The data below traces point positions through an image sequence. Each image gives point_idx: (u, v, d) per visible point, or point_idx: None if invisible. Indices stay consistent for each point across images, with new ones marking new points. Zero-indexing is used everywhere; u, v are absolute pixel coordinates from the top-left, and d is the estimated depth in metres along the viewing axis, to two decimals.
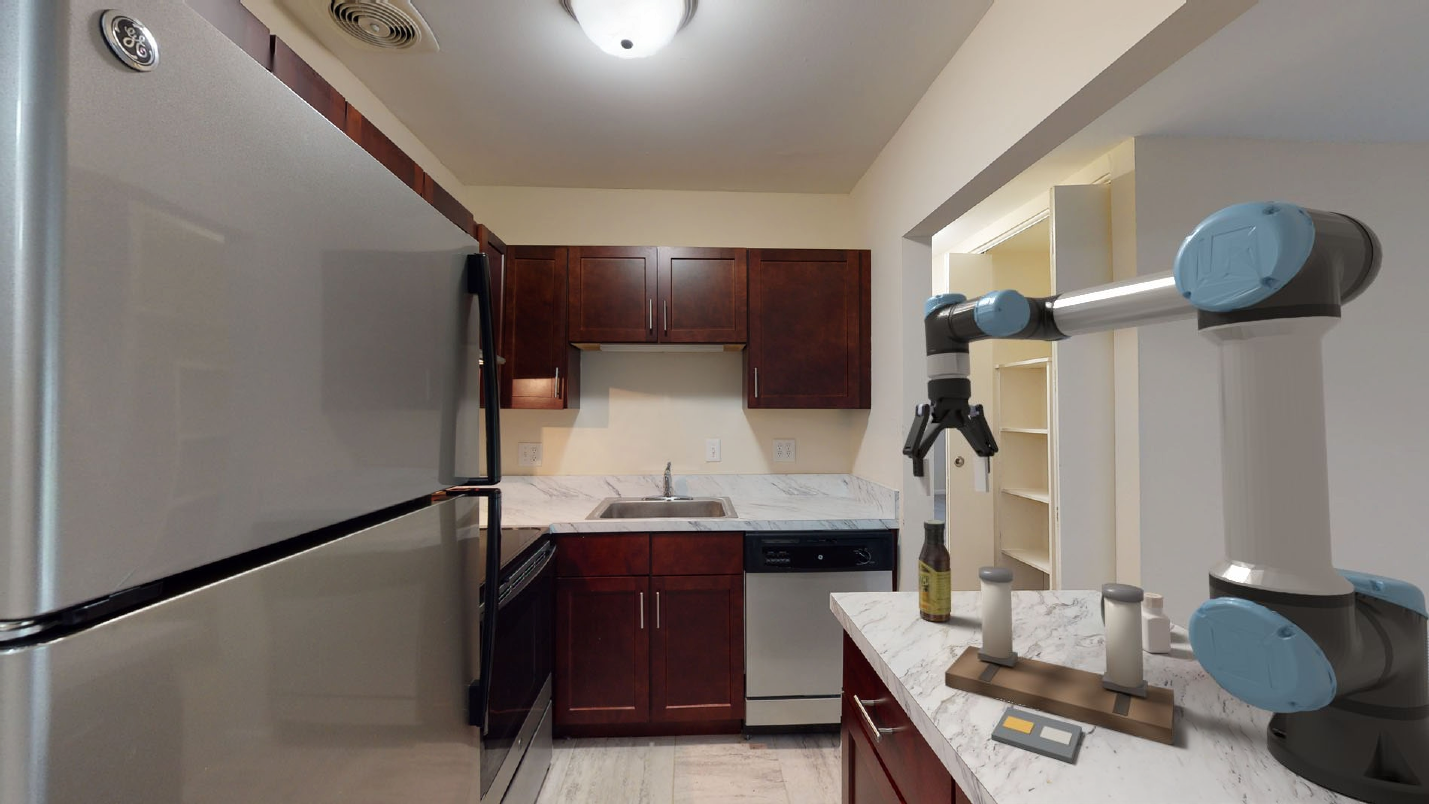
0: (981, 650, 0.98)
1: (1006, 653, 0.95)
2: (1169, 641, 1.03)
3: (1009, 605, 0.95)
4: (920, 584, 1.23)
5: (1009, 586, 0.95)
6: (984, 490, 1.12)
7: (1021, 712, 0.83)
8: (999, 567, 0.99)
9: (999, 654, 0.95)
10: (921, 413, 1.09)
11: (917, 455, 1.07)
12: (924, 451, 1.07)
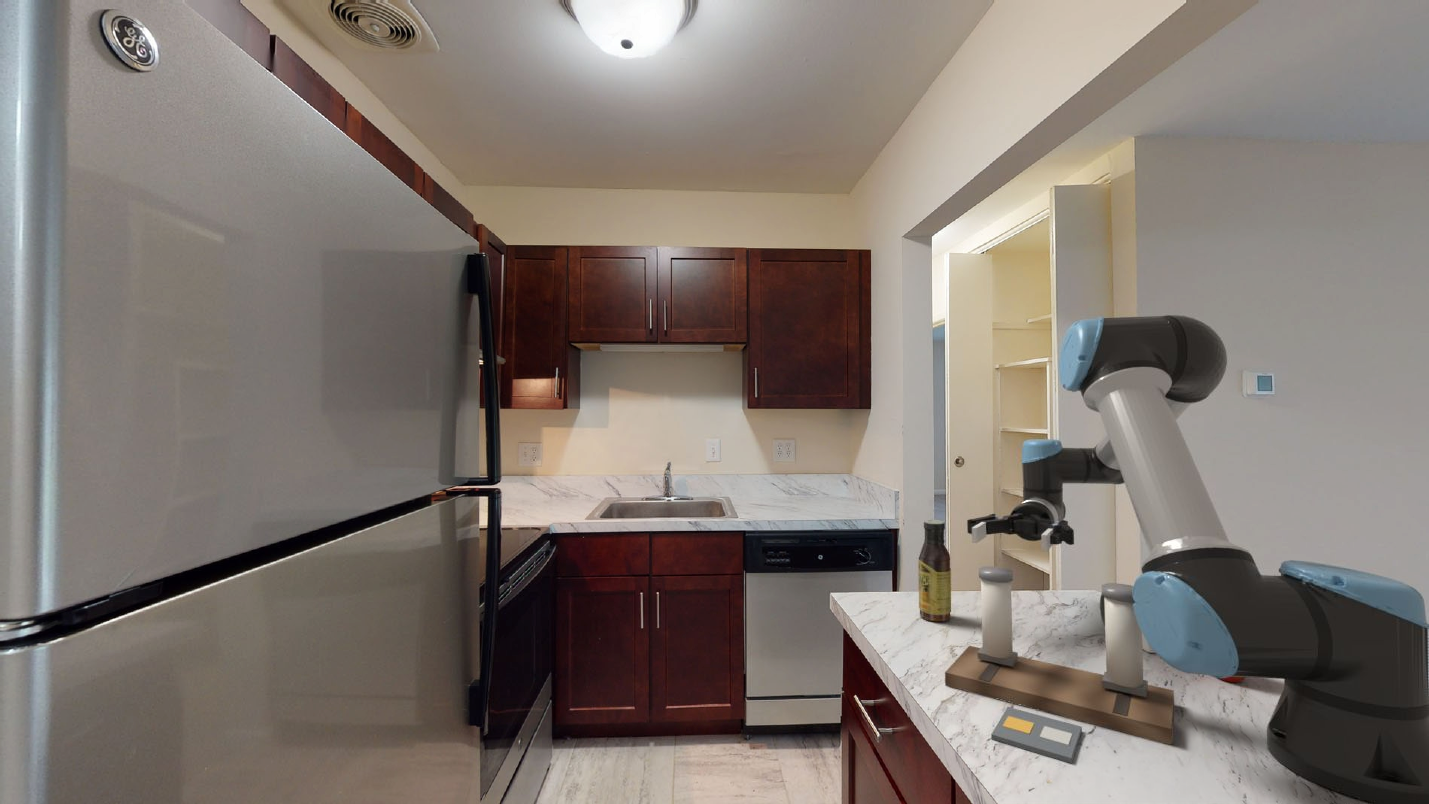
0: (981, 650, 0.98)
1: (1006, 653, 0.95)
2: None
3: (1009, 605, 0.95)
4: (920, 584, 1.23)
5: (1009, 586, 0.95)
6: None
7: (1021, 712, 0.83)
8: (999, 567, 0.99)
9: (999, 654, 0.95)
10: None
11: (975, 523, 1.14)
12: (982, 521, 1.14)
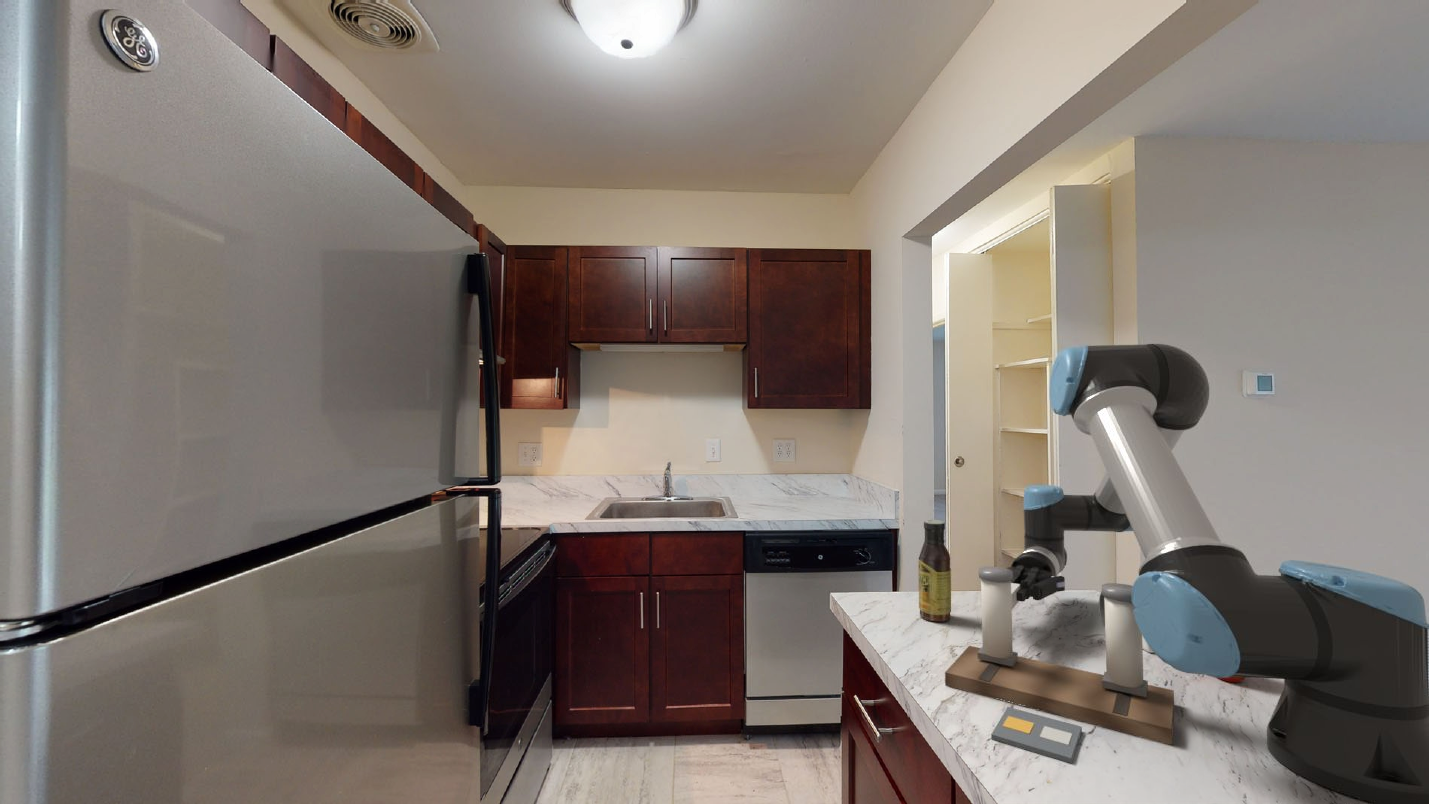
0: (981, 650, 0.98)
1: (1006, 653, 0.95)
2: None
3: (1009, 605, 0.95)
4: (920, 584, 1.23)
5: (1009, 586, 0.95)
6: None
7: (1021, 712, 0.83)
8: (999, 567, 0.99)
9: (999, 654, 0.95)
10: None
11: None
12: None
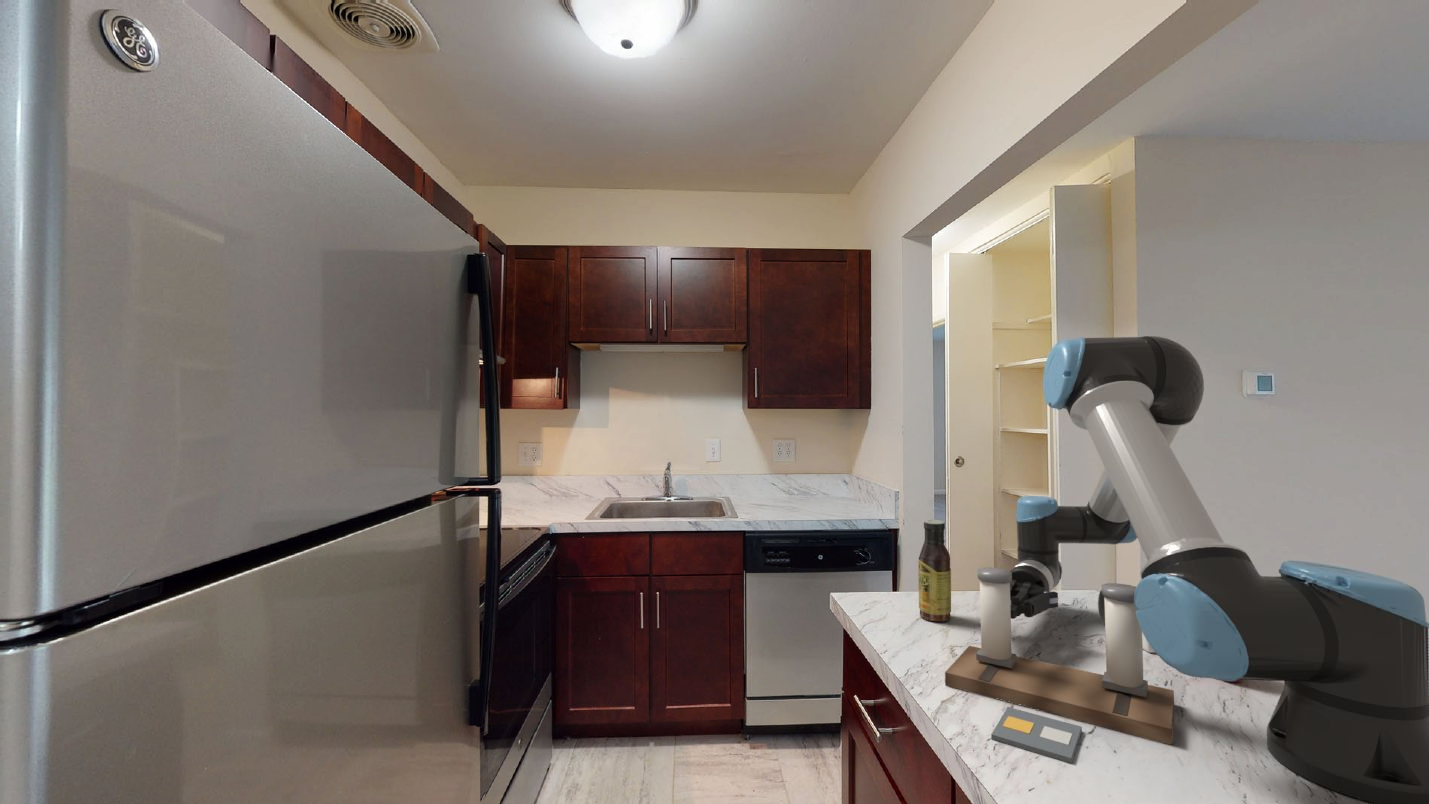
0: (980, 651, 0.97)
1: (1005, 655, 0.94)
2: None
3: (1008, 606, 0.95)
4: (920, 584, 1.23)
5: (1008, 587, 0.95)
6: None
7: (1021, 712, 0.83)
8: (998, 568, 0.98)
9: (998, 656, 0.94)
10: None
11: None
12: None
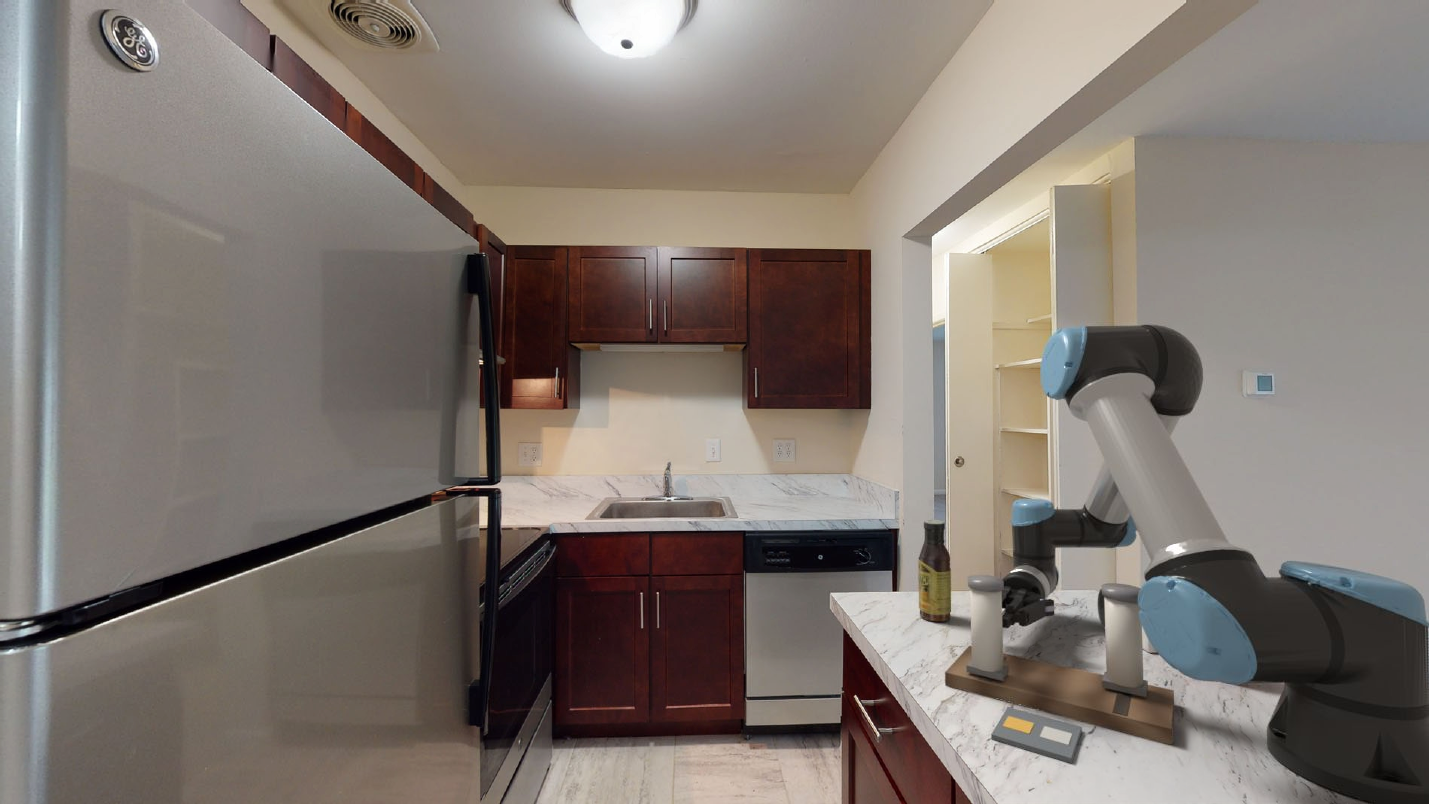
0: (970, 663, 0.93)
1: (996, 666, 0.90)
2: None
3: (999, 616, 0.90)
4: (920, 584, 1.23)
5: (999, 596, 0.91)
6: None
7: (1021, 712, 0.83)
8: None
9: (989, 668, 0.90)
10: None
11: None
12: None
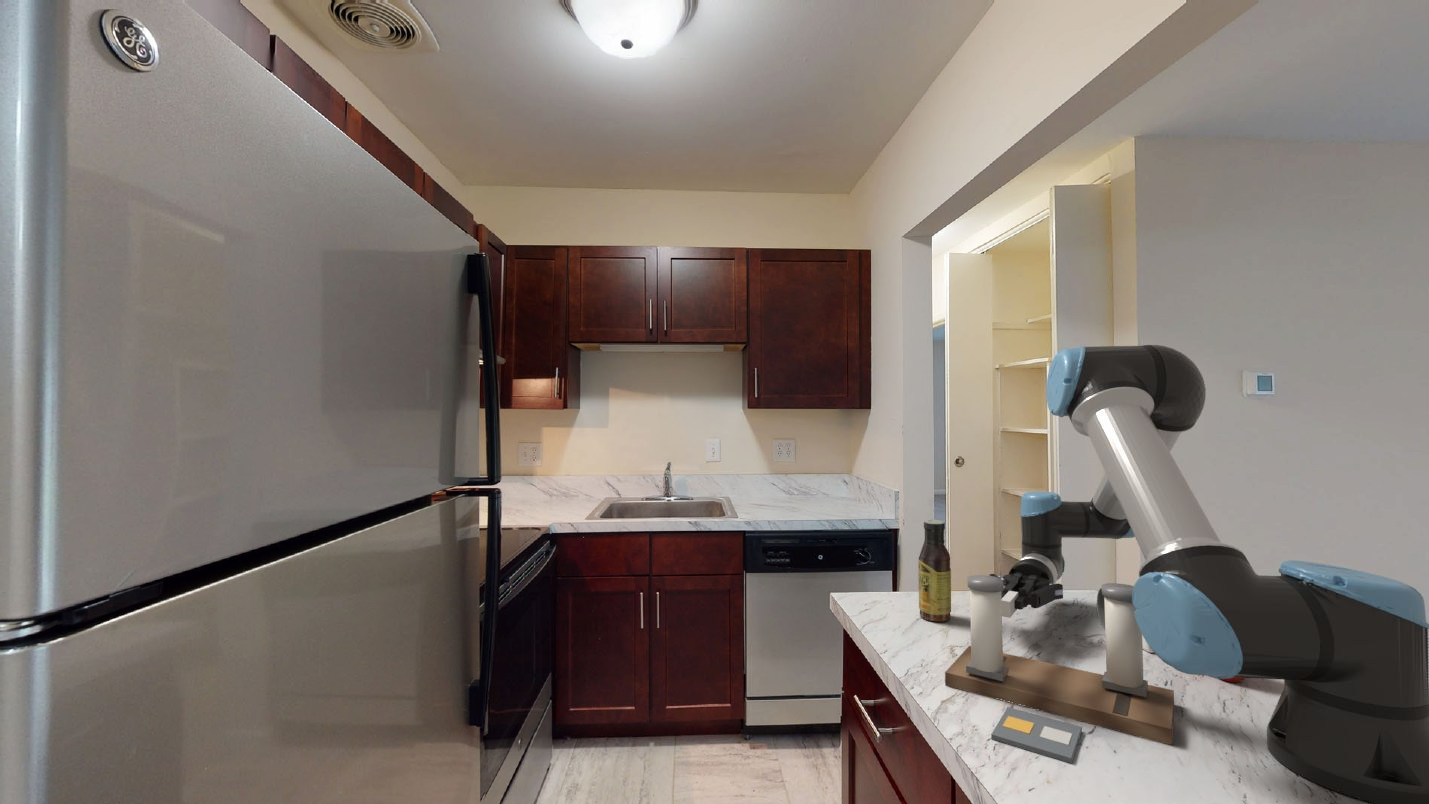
0: (970, 663, 0.93)
1: (996, 667, 0.90)
2: None
3: (999, 616, 0.90)
4: (920, 584, 1.23)
5: (999, 596, 0.90)
6: None
7: (1021, 712, 0.83)
8: (989, 576, 0.94)
9: (989, 668, 0.90)
10: None
11: (1002, 592, 1.08)
12: (1007, 588, 1.09)
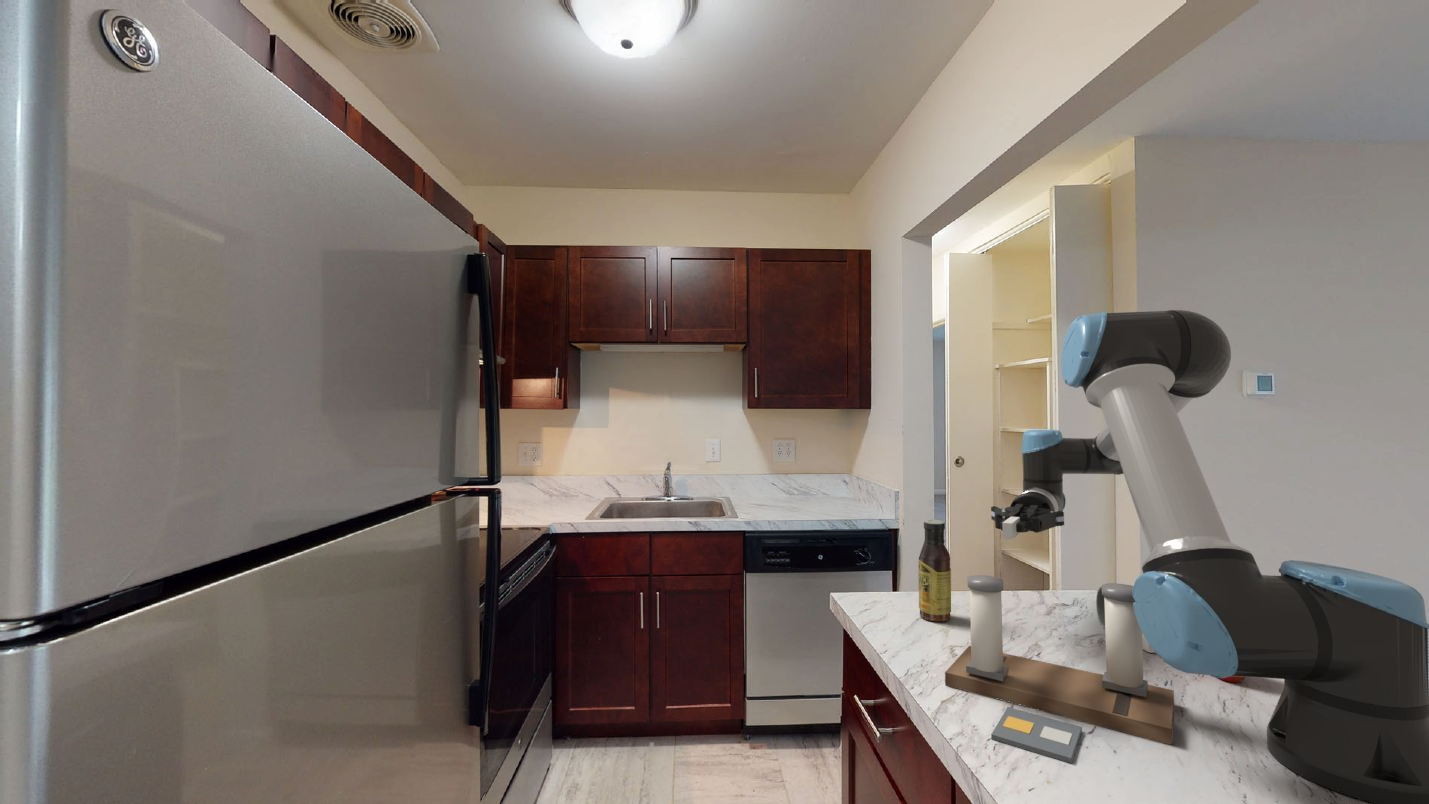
0: (970, 663, 0.93)
1: (996, 667, 0.90)
2: None
3: (999, 616, 0.90)
4: (920, 584, 1.23)
5: (999, 596, 0.90)
6: None
7: (1021, 712, 0.83)
8: (989, 576, 0.94)
9: (989, 668, 0.90)
10: (993, 512, 1.18)
11: (1004, 518, 1.09)
12: (1009, 515, 1.10)
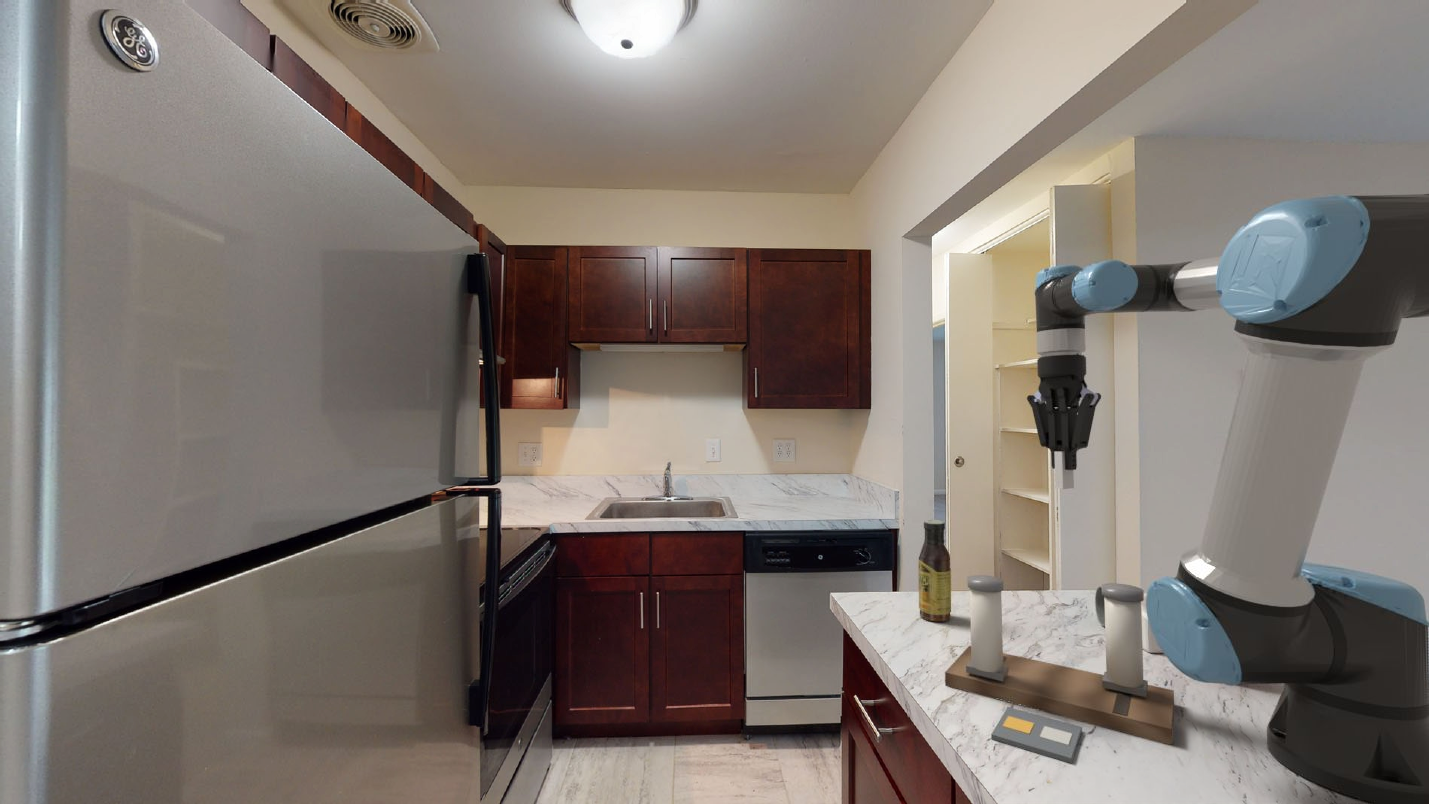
0: (970, 663, 0.93)
1: (996, 667, 0.90)
2: None
3: (999, 616, 0.90)
4: (920, 584, 1.23)
5: (999, 596, 0.90)
6: None
7: (1021, 712, 0.83)
8: (989, 576, 0.94)
9: (989, 668, 0.90)
10: None
11: (1051, 449, 1.08)
12: (1051, 442, 1.07)
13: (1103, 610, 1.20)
